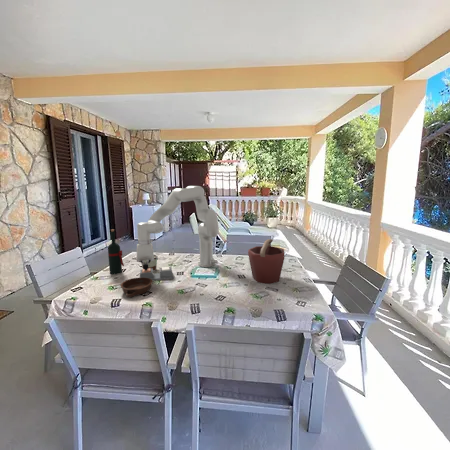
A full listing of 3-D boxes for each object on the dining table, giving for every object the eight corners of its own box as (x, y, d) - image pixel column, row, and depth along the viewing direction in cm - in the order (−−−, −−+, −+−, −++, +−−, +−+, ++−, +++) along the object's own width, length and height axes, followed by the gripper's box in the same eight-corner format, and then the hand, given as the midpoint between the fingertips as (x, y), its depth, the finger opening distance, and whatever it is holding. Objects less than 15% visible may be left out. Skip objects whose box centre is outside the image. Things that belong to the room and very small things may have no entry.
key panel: (172, 273, 175) (172, 266, 174) (173, 278, 166) (173, 270, 165) (139, 276, 170) (139, 269, 169) (139, 281, 160) (138, 274, 159)
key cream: (169, 271, 172) (169, 266, 171) (169, 273, 167) (169, 269, 167) (161, 271, 171) (161, 267, 170) (161, 274, 166) (161, 269, 165)
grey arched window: (160, 267, 186) (160, 254, 185) (157, 270, 180) (157, 256, 179) (144, 267, 188) (143, 254, 186) (140, 270, 182) (140, 256, 180)
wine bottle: (121, 274, 173) (117, 230, 168) (107, 274, 174) (103, 230, 169) (127, 270, 181) (124, 228, 175) (113, 270, 182) (110, 228, 177)
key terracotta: (150, 272, 169) (150, 268, 168) (150, 275, 164) (150, 270, 163) (142, 273, 167) (142, 269, 167) (142, 276, 163) (142, 271, 162)
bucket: (260, 270, 180) (261, 234, 176) (291, 276, 167) (292, 238, 163) (242, 281, 160) (242, 241, 156) (275, 289, 148) (276, 247, 143)
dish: (157, 283, 159) (156, 275, 158) (147, 299, 137) (146, 290, 136) (129, 283, 159) (128, 275, 158) (114, 299, 137) (113, 290, 136)
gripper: (156, 240, 168) (157, 267, 171) (132, 241, 164) (134, 269, 167) (156, 242, 160) (158, 270, 163) (131, 244, 156) (133, 273, 160)
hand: (146, 269), depth 165 cm, fingers closed
